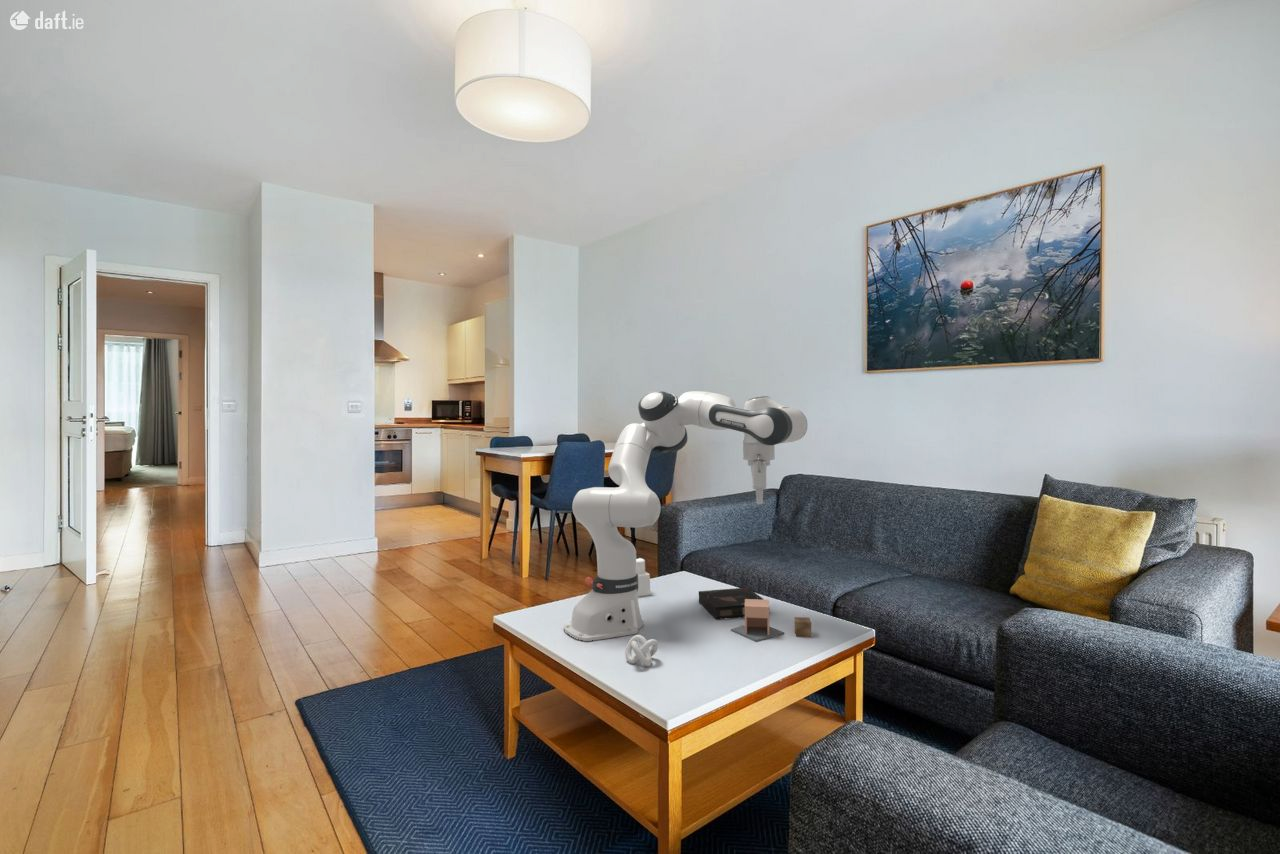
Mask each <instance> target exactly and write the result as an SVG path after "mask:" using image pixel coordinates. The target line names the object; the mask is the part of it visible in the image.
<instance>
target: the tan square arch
mask: <svg viewBox="0 0 1280 854" xmlns="http://www.w3.org/2000/svg"><path fill="white" fill-rule="evenodd" d="M769 602H770V601H769V599H764V600H759V599H745V617H744V625H745V634H747V627H767V634H768V635H769V626H770V613H769V611H770V603H769Z"/></svg>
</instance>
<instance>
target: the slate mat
mask: <svg viewBox="0 0 1280 854" xmlns="http://www.w3.org/2000/svg"><path fill="white" fill-rule="evenodd" d="M730 631H731V632H733V633H735V634H737V635H740V636H743V638H747V639H749V640H751V641H753V642H756V643H757V642H761V641H765V640H768V639H771V638H774V637H778V636H781V635H784V634H785V632H784V631H783V630H780V629H777V628H775V627H773V626H770V625H769V635H768V634H767V627H747V634H745V624H744V625H740V626H737V627H733V628H730Z"/></svg>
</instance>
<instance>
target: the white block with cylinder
mask: <svg viewBox="0 0 1280 854" xmlns="http://www.w3.org/2000/svg"><path fill="white" fill-rule="evenodd" d="M636 573H637V574H638V592H637V595H638V598H640V597H647V596H648V597H649V596H651V574H650V573H648V572H647V571H646V560H645V558H643V557H641V556H636Z"/></svg>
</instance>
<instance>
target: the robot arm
mask: <svg viewBox="0 0 1280 854" xmlns="http://www.w3.org/2000/svg"><path fill="white" fill-rule="evenodd" d="M638 413H639V416H640V418H641V419H642V423H637V422H633V423H630V424H627V425H626V426H625V427H624V428H623V430H622V431H621V433H620V435H619V436H618V438H617V441H616V443H615V445H614V448H613V451H612V454H611V457H610V461H609V464H608V466H607V467H608V468H607V471H608V475H609V478H610V479H611V480H612V482H613V483H615V484H616V485H617V486H618V487H617V486H616V487H604V486H603V487H602V486H601V487H600V486H593V487H588V488H584V489H579V490H578V492H576V494H575V496H574V497H573V500H572V504H571V505H572V507H571V509H572V513H573V515H574V518H575V519H576V521H577V522H578V523H580V524H581V525H582V526H583V527H584V528H585V529H586V530H587V532H588V533H589V535H590V537H591V539H592V541H593V544H594V547H595V551H596V552H595V553H596V563H597V564H596V566H597V567H596V568H597V574H596V576H595V578H592V577H590V576H587V577H586V578H585V581H584V582H585V584H586V585H589V586H591V587H592V588H591V590H590V591H589V592H588V593H587V594H586V595H585V596H584V597H582V598H581V599H580V600H579V601H578V602H577V603H576V604H575V605H574V607H573V609H572V615H571V621H569V622H566V623H564V625H563V631H564V630H565V631H564V632H565V633H566V634H567V633H568V634H569V635H570V636H569V635H568V634H567V635H568V636H569V637H571V636H572V637H571V638H573V637H574V638H573V639H575V638H576V640H578V639H579V640H578V641H581V640H583V641H582V642H592V640H593V641H599V640H604V639H611V638H616V637H617V638H618V637H623V636H630V635H637V634H638V633H639V630H640V629H641V628H642V626H643V625H644V621H643V619H642V615H641V611H640V605H639V597H638V595H637V592H638V574H637V573H636V557H637V550H636V548H635V546H634V544H633V542H631V541H630V540H629V539H626V538H625V537H624V536H623V535H622V534H620V531H619V530H618V528H620V527H621V528H634V529H635V528H636V529H637V528H642V527H643V528H644V527H648V526H649V527H650V526H653V525H654V524H655V523H656V522H657V521H658V519H659V517H660V514H661V501H660V498H659V497H658V495H657V493H656V492H654V491H653V490H652V489H651V488H649V486H648V484H647V482H646V472H647V466H648V465H649V464H648V463H649V460H650V455H651V452H652V450H653V451H654V452H656V453H659V454H660V453H665V454H669V453H670V454H671V453H676V452H678V451H681V450H682V449H683V448H684V447H685V446H686V445H687V443H688V439H689V437H688V432H687V429H686V427H685V426H689V425H693V426H696V427H700V428H705V429H708V430H715V431H716V430H717V431H722V430H723V431H724V430H731V431H732V430H733V431H737V432H741V433H743V435H744V437H743V438H744V439H743V441H742V452H743V453H742V455H743V457H742V458H743V460H744V461H747V466H749V467H750V471H751V477H752V489H753V490H755V497H756V498H755V501H756V502H755V503H756V504H757V505H763V503H764V490H766V489H767V467H768V466H770V465H771V461H773V460H775V458H776V457H775V445H780V444H787V443H793V442H796V441H800V440H801V439H802V438H804V436H805V435H806V433H807V431H808V420H807V417H806V415H805V414H804V412H802V411H801V410H800V409H796V408H793V407H790V406H788V405H787V406H786V405H783V404H782V403H779V402H777V401H776V400H774V399H773V398H772V397H770V396H769V395H767V396H766V395H765V396H764V395H763V396H757V397H752V398H749V399H748V400H746V402H745V403H744V407H743V408H742V407H741V408H740V407H737V406H736V403H735V401H734V400H733V398H731V397H729V396H727V395H724V394H721V393H716V392H711V391H703V390H701V391H700V390H695V391H693V390H692V391H686V392H684V393H682V394H681V395H680V396H679V397H678V396H677V395H676V394H674V393H673V392H666V391H657V390H654V391H650V392H647V393H646V394H645V395H644V396H643V397H642V398H640V400H639V402H638Z"/></svg>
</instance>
